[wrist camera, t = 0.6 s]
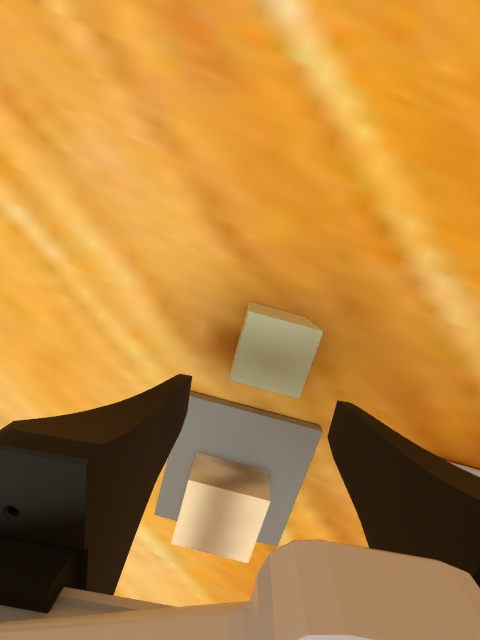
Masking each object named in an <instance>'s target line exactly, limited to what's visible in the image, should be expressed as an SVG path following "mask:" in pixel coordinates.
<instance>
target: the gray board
mask: <svg viewBox="0 0 480 640" xmlns="http://www.w3.org/2000/svg"><path fill="white" fill-rule="evenodd" d="M322 432H323V431H322V429H321V427H320V426H319V425H315V424H312V423H308V422H304V421H300V420H297V419H293V418H289V417H285V416H282V415H278V414H274V413H271V412H267V411H263V410H259V409H256V408H252V407H248V406H244V405H241V404H237V403H233V402H229V401H226V400H222V399H218V398H214V397H211V396H207V395H203V394H199V393H196V392H192V391H190V396H189V404H188V412H187V416H186V418H185V421H184V424H183V427H182V430H181V432H180V434H179V436H178V438H177V440H176V442H175V444H174V446H173V448H172V450H171V452H170V454H169V456H168V460H167V464H166V468H165V472H164V477H163V481H162V485H161V489H160V493H159V498H158V502H157V506H156V510H155V514H154V515H157V516H161V517H164V518H168V519H172V520H176V521H178V517H179V513H180V509H181V506H182V502H183V498H184V494H185V491H186V487H187V483H188V480H189V476H190V473H191V469H192V466H193V463H194V459H195V456H196V452H198V453H202V454H205V455H209V456H213V457H217V458H221V459H224V460H228V461H232V462H236V463H240V464H243V465H247V466H251V467H255V468H259V469H262V470H266V471H268V477H269V488H270V499H271V502H270V505H269V507H268V510H267V513H266V516H265V518H264V521H263V524H262V526H261V529H260V532H259V535H258V537H257V540H256V541H257V542H261V543H265V544H269V545H272V546H276V547H277V546H278V544H279V541H280V538H281V536H282V533H283V531H284V528H285V526H286V523H287V521H288V518H289V516H290V513H291V510H292V508H293V505H294V503H295V500H296V498H297V495H298V493H299V490H300V488H301V485H302V483H303V480H304V477H305V475H306V472H307V470H308V467H309V465H310V462H311V460H312V457H313V455H314V452H315V450H316V447H317V444H318V442H319V439H320V437H321V434H322Z"/></svg>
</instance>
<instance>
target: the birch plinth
mask: <svg viewBox="0 0 480 640" xmlns="http://www.w3.org/2000/svg"><path fill="white" fill-rule="evenodd" d="M270 502H271V499H270V488H269V477H268V471H266V470H262V469H259V468H255V467H251V466H247V465H243V464H240V463H236V462H232V461H228V460H224V459H221V458H217V457H213V456H209V455H205V454H202V453H198V452H196V456H195V459H194V463H193V466H192V469H191V473H190V476H189V480H188V483H187V487H186V491H185V494H184V498H183V502H182V506H181V509H180V513H179V517H178V521H177V524H176V528H175V532H174V536H173V539H172V543H171V544H175V545H179V546H183V547H187V548H191V549H194V550H198V551H202V552H206V553H210V554H214V555H218V556H222V557H225V558H229V559H233V560H237V561H241V562H245V563H248V562H249V559H250V557H251V554H252V551H253V548H254V546H255V543H256V540H257V537H258V535H259V532H260V529H261V526H262V524H263V521H264V518H265V516H266V513H267V510H268V507H269V505H270Z"/></svg>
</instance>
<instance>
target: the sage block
mask: <svg viewBox="0 0 480 640" xmlns="http://www.w3.org/2000/svg"><path fill="white" fill-rule="evenodd" d="M323 332H324V331H322V330H321V329H320V328H319V327H317V326H316V325H315V324H314V323H313V322H311V321H310V320H309V319H308V318H307V317H304V316H300V315H297V314H293V313H290V312H286V311H282V310H279V309H275V308H271V307H268V306H264V305H260V304H257V303H253V302H250V301H249V305H248V308H247V312H246V315H245V319H244V322H243V326H242V330H241V333H240V337H239V340H238V344H237V347H236V351H235V355H234V359H233V364H232V370H231V375H230V381H234V382H238V383H242V384H245V385H249V386H253V387H256V388H260V389H264V390H267V391H271V392H275V393H278V394H282V395H286V396H289V397H293V398H297V399H300V396H301V393H302V390H303V388H304V385H305V382H306V379H307V377H308V374H309V371H310V368H311V365H312V363H313V360H314V357H315V354H316V351H317V349H318V346H319V343H320V340H321V338H322V335H323Z"/></svg>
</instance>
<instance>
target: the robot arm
mask: <svg viewBox="0 0 480 640" xmlns="http://www.w3.org/2000/svg"><path fill="white" fill-rule="evenodd" d="M191 380H192V376H189V375H183V374H179V375H176V376H175V377H173V378H171V379H169V380H167V381H165V382H163V383H161V384H159V385H158V386H156V387H154V388H152V389H149V390H147V391H145V392H143V393H141V394H138V395H136V396H134V397H131V398H129V399H126V400H123V401H120V402H117V403H114V404H111V405H107V406H103V407H99V408H96V409H92V410H88V411H83V412H78V413H73V414H67V415H61V416H55V417H47V418H38V419H29V420H19V421H13V422H12V423H10V424H9V425H7V426H5V427H4V428H2V429H1V430H0V640H480V470H478V469H474V468H471V467H467V466H463V465H459V464H456V463H452V462H448V461H445V460H443V459H441V458H440V457H438V456H436V455H434V454H432V453H430V452H429V451H427V450H425V449H423V448H421V447H420V446H418V445H416V444H415V443H413V442H411V441H410V440H408V439H407V438H405V437H403V436H402V435H400V434H399V433H397V432H395V431H394V430H392V429H391V428H389V427H388V426H386V425H385V424H383V423H382V422H380V421H379V420H377V419H376V418H374V417H373V416H371V415H370V414H368V413H367V412H365V411H364V410H362V409H361V408H359V407H357V406H355V405H354V404H352V403H349V402H343V401H337V404H336V408H335V412H334V415H333V419H332V423H331V426H330V430H329V434H328V441H329V444H330V448H331V451H332V455H333V458H334V460H335V463H336V465H337V467H338V470H339V472H340V474H341V477H342V479H343V481H344V484H345V486H346V488H347V490H348V493H349V495H350V497H351V500H352V502H353V504H354V506H355V509H356V511H357V514H358V516H359V519H360V521H361V524H362V527H363V530H364V533H365V536H366V539H367V542H368V545H369V548H365V547H359V546H354V545H348V544H342V543H336V542H331V541H325V540H294V541H292V542H290V543H288V544H286V545H284V546H282V547H280V548H278V549H276V550H274V551H272V552H271V553H270V554H269V556H268V557H267V559H266V561H265V562H264V564H263V565H262V567H261V568H260V570H259V572H258V573H257V578H256V582H255V586H254V590H253V595H252V597H251V600H250V601H245V602H233V603H221V604H209V605H197V606H185V607H175V606H169V605H163V604H158V603H152V602H146V601H141V600H135V599H130V598H124V597H118V596H113V595H114V592H115V589H116V586H117V584H118V581H119V578H120V575H121V572H122V570H123V567H124V564H125V561H126V559H127V556H128V553H129V551H130V548H131V545H132V542H133V540H134V537H135V534H136V532H137V529H138V526H139V524H140V521H141V518H142V516H143V513H144V511H145V508H146V505H147V503H148V500H149V498H150V495H151V493H152V490H153V488H154V485H155V483H156V481H157V478H158V476H159V474H160V472H161V470H162V468H163V466H164V464H165V462H166V460H167V458H168V456H169V454H170V452H171V450H172V448H173V446H174V444H175V442H176V440H177V438H178V436H179V434H180V432H181V430H182V427H183V424H184V421H185V418H186V416H187V412H188V404H189V396H190V388H191Z"/></svg>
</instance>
